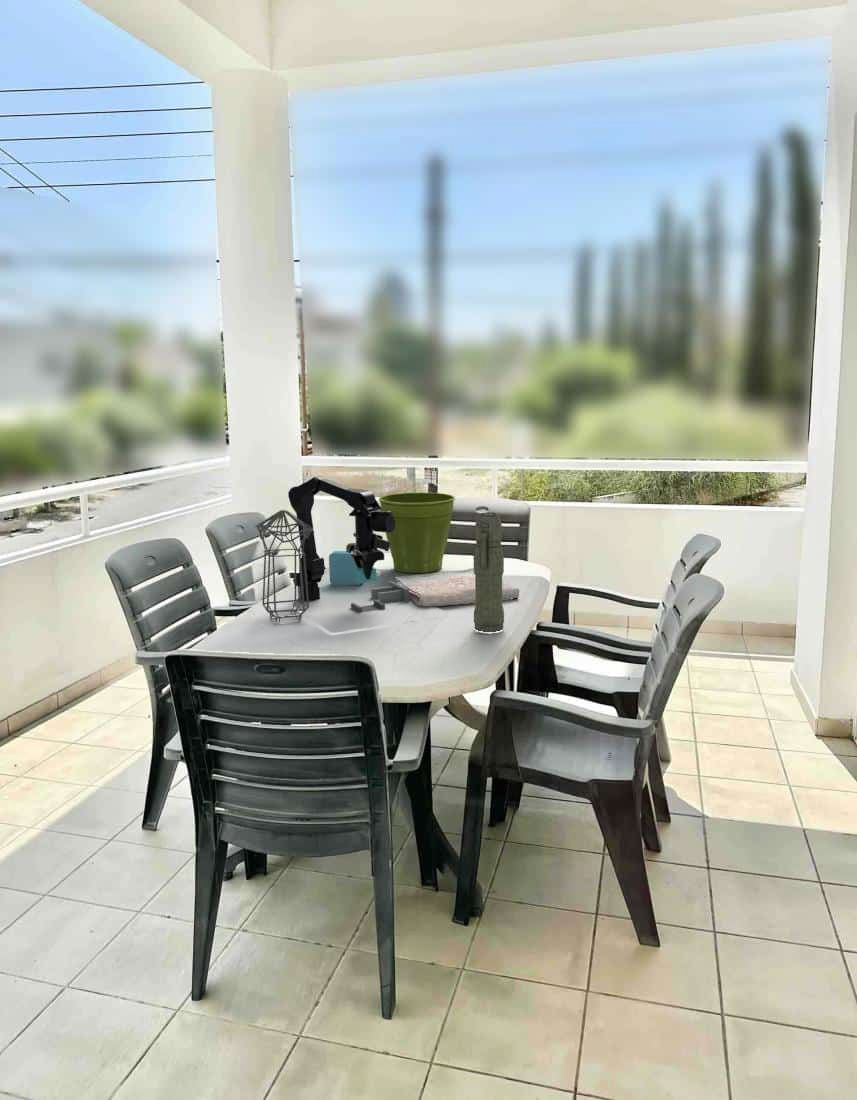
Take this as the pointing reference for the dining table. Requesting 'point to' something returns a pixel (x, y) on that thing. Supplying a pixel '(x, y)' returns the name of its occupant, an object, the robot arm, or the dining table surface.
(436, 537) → the plant pot
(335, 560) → the data package
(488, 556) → the flashlight
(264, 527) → the geometric lantern
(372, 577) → the plug
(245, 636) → the dining table surface
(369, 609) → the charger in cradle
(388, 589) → the socket
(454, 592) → the towel
